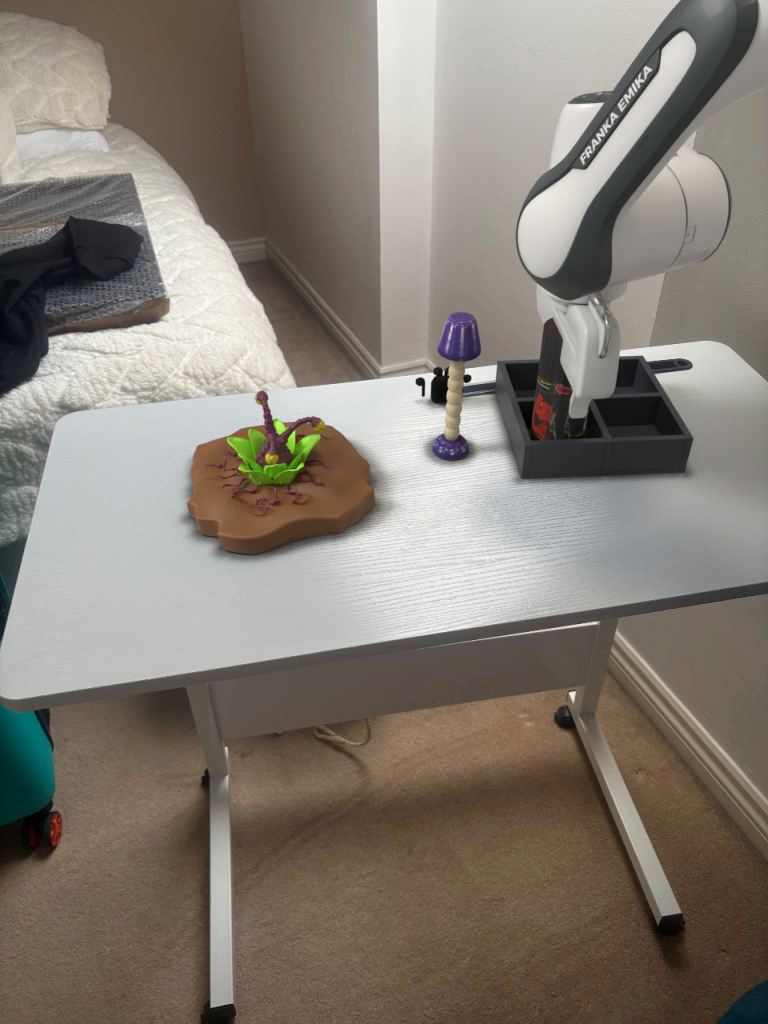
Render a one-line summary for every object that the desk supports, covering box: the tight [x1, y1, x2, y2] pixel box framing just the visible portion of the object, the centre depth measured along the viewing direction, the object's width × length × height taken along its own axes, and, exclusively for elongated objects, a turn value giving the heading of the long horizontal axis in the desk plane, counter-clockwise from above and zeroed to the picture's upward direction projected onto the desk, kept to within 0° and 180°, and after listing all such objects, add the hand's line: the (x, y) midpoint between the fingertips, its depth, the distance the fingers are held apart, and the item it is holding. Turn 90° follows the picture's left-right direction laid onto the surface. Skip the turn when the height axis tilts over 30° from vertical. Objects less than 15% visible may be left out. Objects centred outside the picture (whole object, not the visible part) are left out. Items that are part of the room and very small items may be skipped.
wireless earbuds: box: [415, 365, 473, 404], centre depth 102 cm, size 7×2×5 cm, turn 96°
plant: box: [186, 390, 376, 555], centre depth 87 cm, size 20×20×11 cm
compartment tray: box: [494, 355, 694, 480], centre depth 98 cm, size 18×18×5 cm
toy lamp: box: [431, 311, 482, 461], centre depth 91 cm, size 5×5×17 cm
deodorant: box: [530, 318, 590, 441], centre depth 90 cm, size 6×6×15 cm
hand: (565, 391), depth 90 cm, fingers open, 8 cm apart
